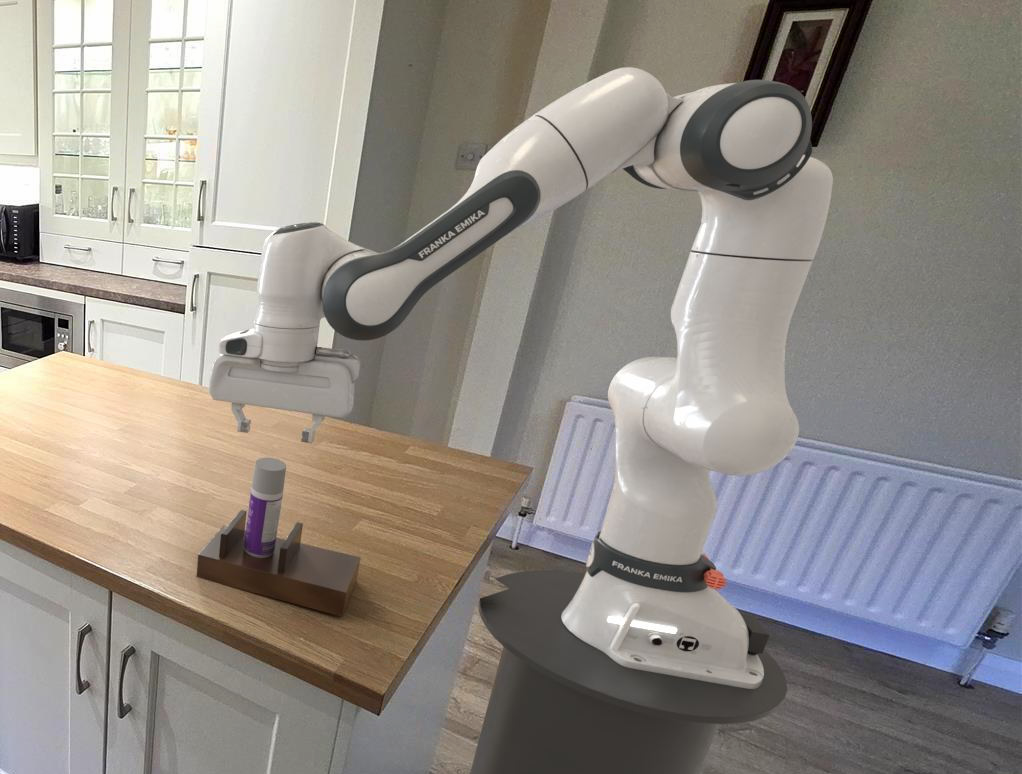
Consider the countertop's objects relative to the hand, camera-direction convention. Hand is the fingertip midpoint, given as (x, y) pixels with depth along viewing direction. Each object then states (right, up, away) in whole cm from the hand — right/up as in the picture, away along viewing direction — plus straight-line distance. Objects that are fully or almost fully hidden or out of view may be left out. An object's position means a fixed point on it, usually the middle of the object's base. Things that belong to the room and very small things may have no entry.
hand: (274, 436), depth 109 cm
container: (-1, -18, +7) cm, 19 cm away
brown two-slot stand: (+2, -22, +7) cm, 23 cm away
